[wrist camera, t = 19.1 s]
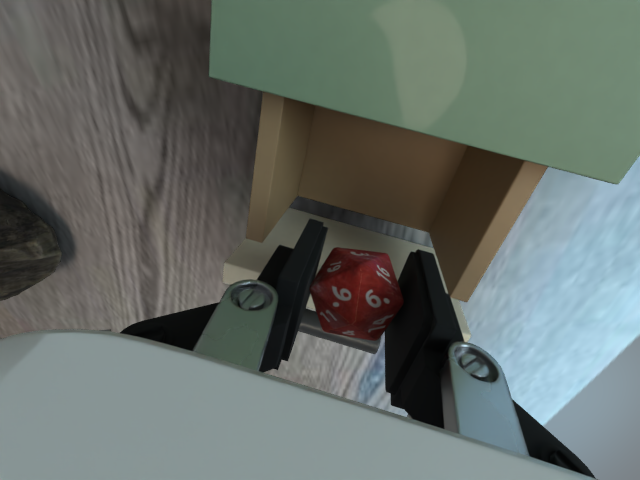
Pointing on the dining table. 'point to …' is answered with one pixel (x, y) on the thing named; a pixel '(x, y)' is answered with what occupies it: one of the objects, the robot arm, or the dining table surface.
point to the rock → (24, 248)
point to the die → (356, 293)
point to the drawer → (378, 197)
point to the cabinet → (454, 70)
